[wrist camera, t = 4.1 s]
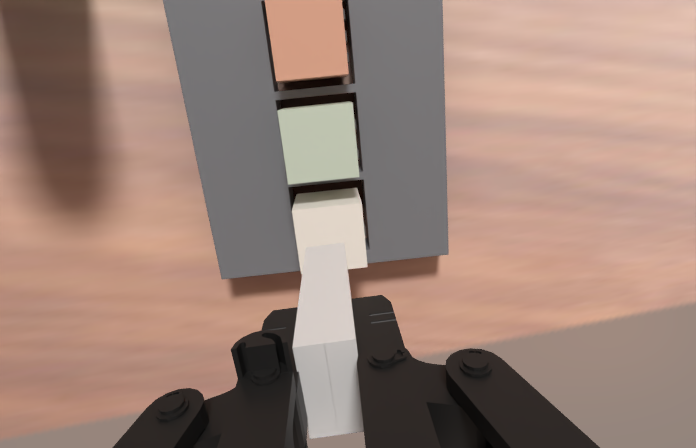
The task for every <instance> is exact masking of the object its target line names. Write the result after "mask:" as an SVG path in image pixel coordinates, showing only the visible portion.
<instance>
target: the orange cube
mask: <svg viewBox="0 0 696 448" xmlns="http://www.w3.org/2000/svg"><path fill="white" fill-rule="evenodd" d="M265 6H266V13H267V20H268V27H269V34H270V41H271V48H272V55H273V62H274V69H275V76H276V81H277V82H282V83H288V82H298V81H308V80H318V79H327V78H337V77H346V76H347V75H348V74H349V72H348V63H349V54H348V53H347V51H346V43H347V32H346V31H345V29H344V22H345V10H344V9H343V7H342V0H265Z"/></svg>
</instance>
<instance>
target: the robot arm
mask: <svg viewBox="0 0 696 448" xmlns="http://www.w3.org/2000/svg"><path fill="white" fill-rule="evenodd" d="M231 352H232V356H233V360H234V364H235V368H236V372H237V377H238V381H237V384H236V387H235V388H234V389H232V390H230V391H228V392H226V393H224V394H221V395H218V396H216V397H213V398H210V399H207V400H204V397H203V394H201V393H200V392H199V391H198V390H195V389H191V388H186V389H178V390H175V391H172V392H169V393H167V394H165V395H163V396H161V397H160V398H158V399H156V400H155V401H154V402H153V403H152V404H151V405H150V406H148V407H147V408H146V410H145V411H144V412H143V413H142V414H141V415H140V416H139V418H138V419H137V420H136V421H135V422H134V424H133V425H132V426H131V427H130V428H129V429H128V431H127V432H126V433H125V434H124V435H123V436H122V437H121V439H120V440H119V441H118V442H117V443H116V444H115V446H114V447H113V448H308V446H307V441H306V438H307V427H308V432H309V438H310V439H312V438H320V437H328V436H335V435H342V434H350V433H357V432H364V435H365V445H366V448H600V447H599V446H598V445H596V444H595V443H594V442H593V441H592V440H591V439H590V438H589V437H588V436H587V435H585V434H584V433H583V432H582V431H581V430H580V429H579V428H578V427H577V426H575V425H574V424H573V423H572V422H571V421H570V420H569V419H568V418H567V417H565V416H564V415H563V414H562V413H561V412H560V411H559V410H558V409H557V408H555V407H554V406H553V405H552V404H551V403H550V402H549V401H548V400H547V399H546V398H545V397H543V396H542V395H541V394H540V393H539V392H538V391H537V390H536V389H534V388H533V387H532V386H531V385H530V384H529V383H528V382H527V381H526V380H525V379H523V378H522V377H521V376H520V375H519V374H518V373H517V372H516V371H515V370H514V369H512V368H511V367H510V366H509V365H508V364H507V363H506V362H505V361H504V360H502V359H501V358H500V357H498V356H497V355H495V354H494V353H492V352H488V351H485V350H482V349H464V350H459V351H457V352H455V353H453V354H451V355H450V356H449V358H448V359H447V360H446V365H437V364H429V363H424V362H422V361H419V360H417V359H415V358H413V357H412V356H411V354H410V353H409V351H408V350H407V349H406V348H405V347H404V343H403V340H402V337H401V334H400V330H399V327H398V324H397V321H396V317H395V314H394V311H393V308H392V304H391V302H390V301H389V300H388V299H386V298H385V297H384V296H383V295H378V296H371V297H363V298H355V299H352V297H351V289H350V282H349V274H348V267H347V259H346V251H345V244H344V243H336V244H328V245H321V246H313V247H306V250H305V257H304V265H303V272H302V280H301V287H300V295H299V302H298V307H297V308H289V309H282V310H274V311H272V312H271V313H270V314H269V316H268V317H267V318H266V319H265V320H264V323H263V327H262V331H258V332H254V333H251V334H249V335H247V336H245V337H243V338H241V339H240V340H239V341H237V342H236V343H235V344H234V346H233V347H232V349H231Z"/></svg>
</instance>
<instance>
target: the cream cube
mask: <svg viewBox="0 0 696 448" xmlns="http://www.w3.org/2000/svg"><path fill="white" fill-rule="evenodd" d="M292 215H293V222H294V229H295V236H296V243H297V250H298V256H299V263H300V270H301V274H302V272H303V265H304V257H305V250H306V247H313V246H321V245H328V244H336V243H344V244H345V251H346V259H347V267H348V269H355V268H365V267H368V266H367V255H366V244H365V236H366V228H365V224H364V221H363V211H362V202H361V199H360V196H359V193H358V189H357V188H348V189H339V190H329V191H320V192H311V193H301V194H297V195H296V198H295V201H294V205H293V208H292Z"/></svg>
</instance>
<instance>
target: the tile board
mask: <svg viewBox="0 0 696 448" xmlns="http://www.w3.org/2000/svg"><path fill="white" fill-rule="evenodd" d="M342 2H346V12H347V23H348V34H349V45H350V57H351V68H352V79H353V84H346V85H336V86H326V87H317V88H307V89H297V90H287V91H279V90H278V83H277V81H276V76H275V69H274V62H273V55H272V48H271V41H270V34H269V27H268V20H267V13H266V6H265V0H163V3H164V8H165V12H166V17H167V22H168V27H169V31H170V36H171V41H172V46H173V50H174V55H175V60H176V64H177V69H178V74H179V79H180V83H181V88H182V93H183V98H184V102H185V107H186V112H187V117H188V121H189V126H190V131H191V136H192V140H193V145H194V150H195V155H196V159H197V164H198V169H199V174H200V178H201V183H202V188H203V193H204V197H205V202H206V207H207V211H208V216H209V221H210V226H211V230H212V235H213V240H214V245H215V249H216V254H217V259H218V264H219V268H220V273H221V278H222V279H230V278H239V277H248V276H257V275H266V274H276V273H285V272H294V271H301V270H300V263H299V256H298V250H297V243H296V236H295V229H294V222H293V215H292V208H293V205H294V196H293V189H292V187H297V186H306V185H315V184H325V183H334V182H344V181H353V180H362V192H363V203H364V214H365V225H366V237H367V238H365V244H366V255H367V263H376V262H385V261H394V260H403V259H412V258H421V257H430V256H439V255H448V213H447V172H446V130H445V89H444V48H443V7H442V0H342ZM352 92H354V102H355V113H356V124H357V135H358V147H359V158H360V166H359V177H355V178H346V179H336V180H327V181H317V182H308V183H299V184H289V185H288V181H287V174H286V167H285V160H284V153H283V146H282V139H281V132H280V126H279V119H278V112H277V110H280V109H281V104H280V100H284V99H293V98H303V97H313V96H323V95H332V94H342V93H352Z"/></svg>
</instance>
